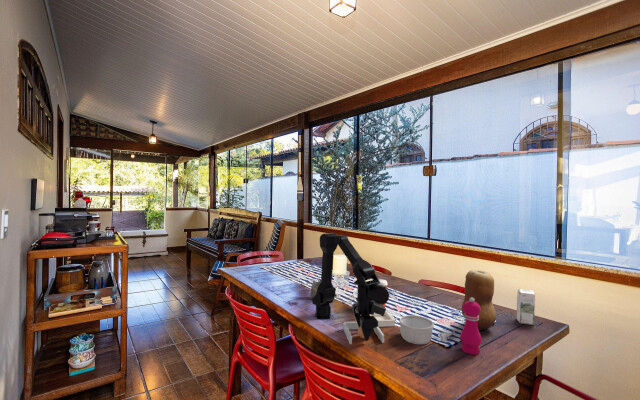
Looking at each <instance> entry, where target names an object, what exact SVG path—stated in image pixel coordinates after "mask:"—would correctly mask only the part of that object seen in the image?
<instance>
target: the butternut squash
mask: <svg viewBox="0 0 640 400" xmlns="http://www.w3.org/2000/svg"><path fill="white" fill-rule="evenodd" d="M494 291H495V280H494V277H493V275H492V274H491V273H490V272H488V271H485V270H477V269H471V270H469V271H468V272H466V275H465V280H464V298H463V301H462V304H461V314H462V316H463V317H464V313H465V312H464V311H463V305H464V303H465V302H467V301H469V299H470V298H471V297H472V298H474V300H475V301H474V302H476V303H477V304H479V306H480V308H481V312H480V314H479V315H478V316H479V320H478V322H477V326H478V330H479V331H484V330H487V329H489V328H490V327H492V326H493V325H494V323H495V322H496V318H497V313H496V309H495V307H494V304H493V297H494V293H495V292H494Z"/></svg>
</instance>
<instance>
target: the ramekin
mask: <svg viewBox="0 0 640 400" xmlns="http://www.w3.org/2000/svg"><path fill="white" fill-rule="evenodd" d="M398 324H399V325H400V326H399V327H400V329H399V330H400V335H401V337H402V338H403V340H404V341H406V342H407V343H410V344H413V345H414V344H415V345H425V344H426V345H427V344H428V343H429V342H431V340H432V336H433V329H434V327H435V326H434V325H435V324H434V322H433V320H432V319H429V318H427V317H425V316H421V315H415V314H411V315H410V314H408V315H403V316H401V317H400V318H399V323H398Z"/></svg>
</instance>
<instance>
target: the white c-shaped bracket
mask: <svg viewBox="0 0 640 400" xmlns="http://www.w3.org/2000/svg"><path fill="white" fill-rule="evenodd" d="M342 325H343V326H342V328H343V332H344V334H345V337H346V338H347V341H348V343H349V345H352V343H353V336H352V333H351V332H350V330H351V331H352V330H358V328H359V327H358V324H357V321H343V323H342ZM372 331H374V333H375V334H376V336H377V338H378V339H379V341H380V342H381V344H384V343H385V334H384V333H383V332H382V330H381V328H380V327H376V328H373V329H372Z"/></svg>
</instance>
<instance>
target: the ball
mask: <svg viewBox="0 0 640 400" xmlns="http://www.w3.org/2000/svg"><path fill="white" fill-rule="evenodd" d="M357 334H358V336H359V338H361V339H364V340H365V338H364V335H363V332H362V329H361V326H360V327H359V328H358V329H357Z"/></svg>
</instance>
